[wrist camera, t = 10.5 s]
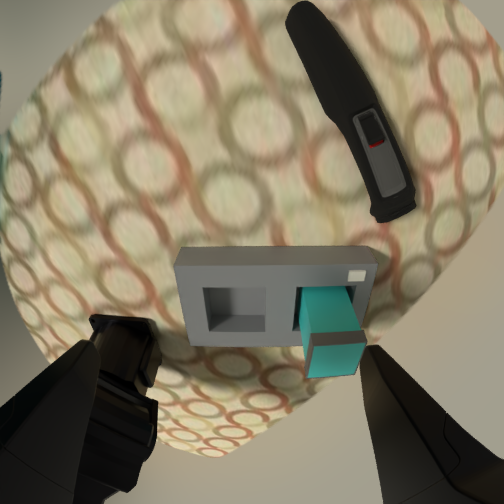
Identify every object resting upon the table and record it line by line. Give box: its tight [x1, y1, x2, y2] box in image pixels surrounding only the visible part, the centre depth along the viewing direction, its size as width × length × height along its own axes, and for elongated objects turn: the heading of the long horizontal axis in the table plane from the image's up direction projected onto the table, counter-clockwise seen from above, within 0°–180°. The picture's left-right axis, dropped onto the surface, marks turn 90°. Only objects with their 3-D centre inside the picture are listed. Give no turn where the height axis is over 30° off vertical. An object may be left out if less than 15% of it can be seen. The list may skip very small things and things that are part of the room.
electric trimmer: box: [285, 1, 416, 223], centre depth 16 cm, size 4×16×3 cm, turn 30°
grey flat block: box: [174, 246, 378, 347], centre depth 22 cm, size 14×8×3 cm, turn 91°
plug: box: [297, 286, 367, 379], centre depth 20 cm, size 3×3×7 cm
